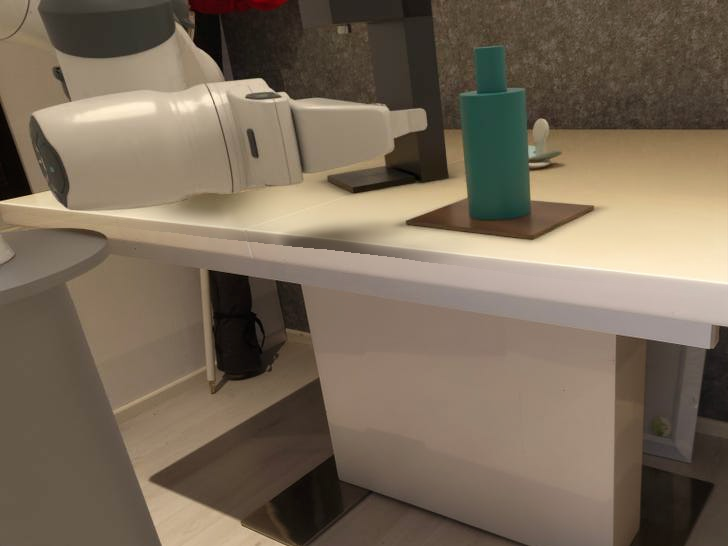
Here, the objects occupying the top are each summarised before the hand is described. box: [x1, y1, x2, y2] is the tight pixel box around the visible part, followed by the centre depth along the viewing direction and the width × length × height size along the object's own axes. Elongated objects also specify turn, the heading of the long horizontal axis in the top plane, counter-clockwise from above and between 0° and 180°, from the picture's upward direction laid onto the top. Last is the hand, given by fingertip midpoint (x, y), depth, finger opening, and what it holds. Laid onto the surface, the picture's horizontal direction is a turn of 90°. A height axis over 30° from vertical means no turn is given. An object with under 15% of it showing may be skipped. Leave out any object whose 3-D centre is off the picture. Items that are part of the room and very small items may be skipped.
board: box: [405, 197, 595, 240], centre depth 72 cm, size 12×16×1 cm
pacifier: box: [528, 117, 563, 169], centre depth 95 cm, size 7×6×6 cm
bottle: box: [458, 45, 532, 220], centre depth 68 cm, size 7×7×16 cm
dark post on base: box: [297, 0, 449, 194], centre depth 91 cm, size 14×14×26 cm
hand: (403, 115), depth 63 cm, fingers open, 8 cm apart
